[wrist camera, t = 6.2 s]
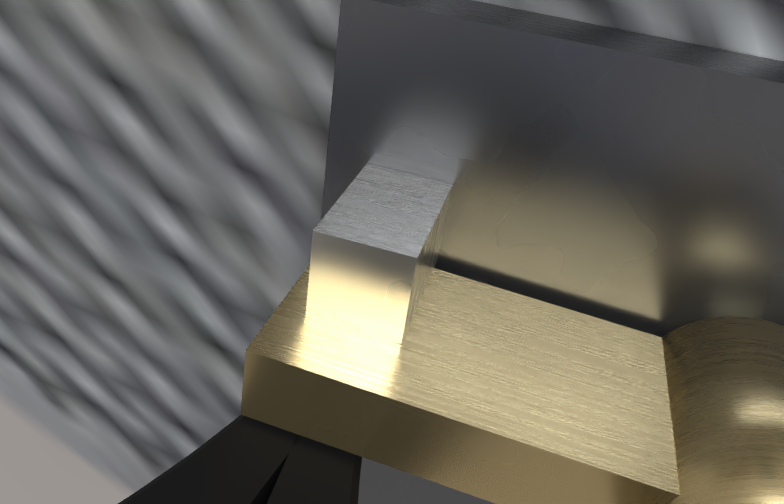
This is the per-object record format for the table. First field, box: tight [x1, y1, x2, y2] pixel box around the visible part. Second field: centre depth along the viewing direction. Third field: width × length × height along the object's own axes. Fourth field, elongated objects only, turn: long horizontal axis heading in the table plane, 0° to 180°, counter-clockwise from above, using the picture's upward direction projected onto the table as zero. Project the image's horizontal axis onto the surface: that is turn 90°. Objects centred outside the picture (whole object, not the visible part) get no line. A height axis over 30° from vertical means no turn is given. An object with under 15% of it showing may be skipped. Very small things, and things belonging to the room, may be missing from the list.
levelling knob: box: [241, 265, 784, 504], centre depth 8 cm, size 7×3×4 cm, turn 80°
